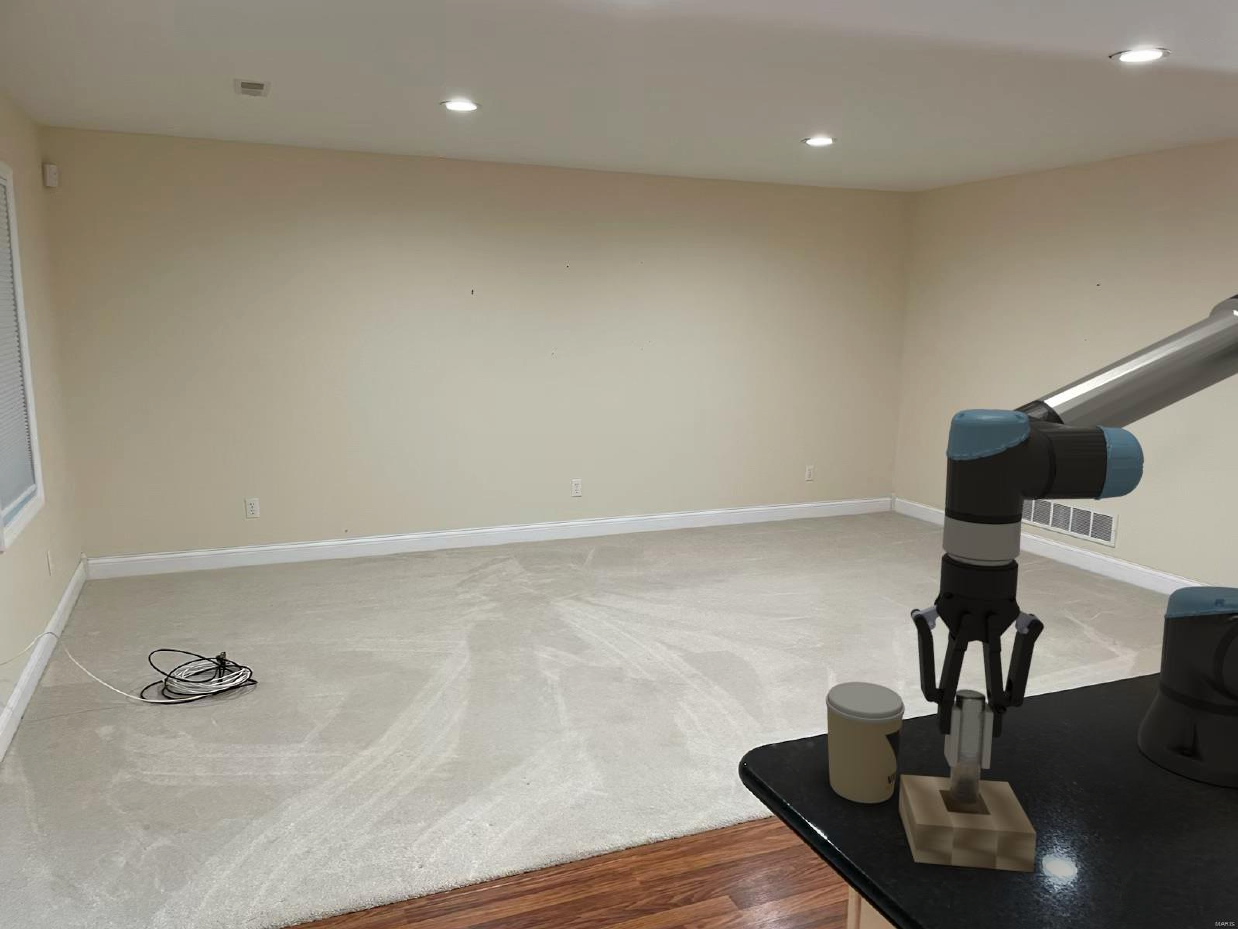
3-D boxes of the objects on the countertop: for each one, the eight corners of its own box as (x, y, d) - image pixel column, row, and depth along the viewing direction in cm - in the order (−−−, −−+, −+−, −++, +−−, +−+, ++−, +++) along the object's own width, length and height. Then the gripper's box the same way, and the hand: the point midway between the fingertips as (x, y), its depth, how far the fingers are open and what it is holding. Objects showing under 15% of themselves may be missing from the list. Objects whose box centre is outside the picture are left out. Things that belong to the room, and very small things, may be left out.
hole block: (1005, 817, 97) (1007, 782, 96) (1033, 872, 87) (1036, 833, 87) (898, 809, 99) (900, 774, 98) (914, 862, 89) (916, 823, 89)
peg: (974, 790, 94) (981, 690, 92) (981, 805, 91) (989, 702, 89) (946, 788, 94) (953, 688, 92) (952, 802, 91) (959, 700, 89)
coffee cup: (905, 811, 99) (910, 717, 97) (824, 803, 101) (827, 710, 99) (895, 770, 108) (899, 683, 106) (821, 763, 110) (824, 678, 108)
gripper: (1046, 549, 90) (1031, 749, 94) (896, 544, 93) (887, 740, 97) (1072, 568, 83) (1054, 785, 87) (908, 562, 85) (898, 773, 89)
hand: (966, 761), depth 92 cm, fingers closed on peg, 3 cm apart
